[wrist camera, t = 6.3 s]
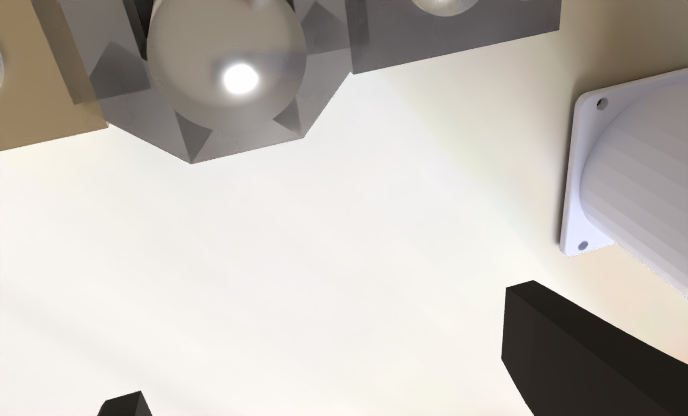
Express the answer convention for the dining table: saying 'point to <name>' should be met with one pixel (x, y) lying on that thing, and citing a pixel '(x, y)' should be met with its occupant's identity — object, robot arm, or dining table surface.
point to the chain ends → (178, 132)
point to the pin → (226, 59)
